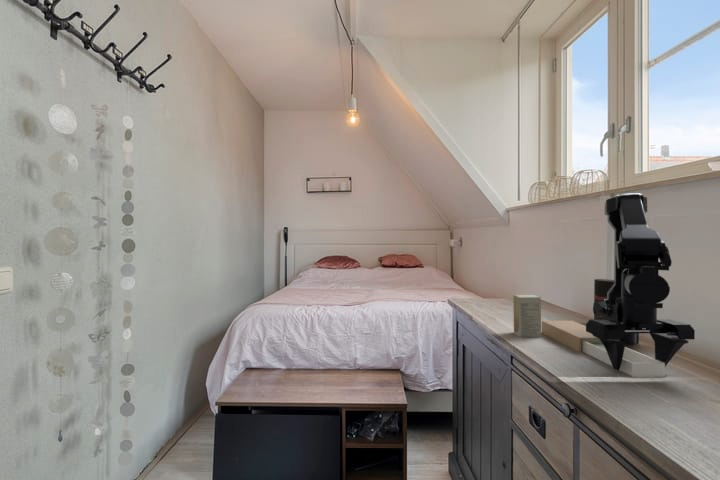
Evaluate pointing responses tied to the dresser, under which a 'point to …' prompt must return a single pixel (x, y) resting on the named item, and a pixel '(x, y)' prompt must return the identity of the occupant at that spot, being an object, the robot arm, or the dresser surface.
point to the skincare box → (527, 315)
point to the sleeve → (567, 333)
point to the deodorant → (601, 290)
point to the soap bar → (600, 346)
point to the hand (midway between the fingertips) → (637, 369)
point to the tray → (627, 360)
